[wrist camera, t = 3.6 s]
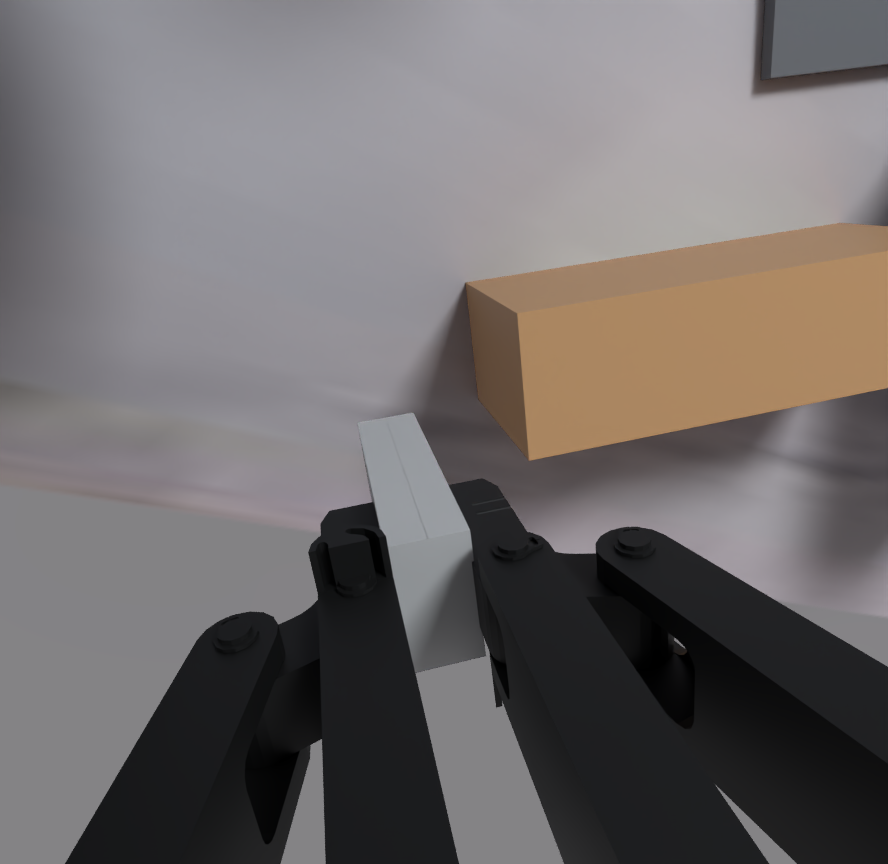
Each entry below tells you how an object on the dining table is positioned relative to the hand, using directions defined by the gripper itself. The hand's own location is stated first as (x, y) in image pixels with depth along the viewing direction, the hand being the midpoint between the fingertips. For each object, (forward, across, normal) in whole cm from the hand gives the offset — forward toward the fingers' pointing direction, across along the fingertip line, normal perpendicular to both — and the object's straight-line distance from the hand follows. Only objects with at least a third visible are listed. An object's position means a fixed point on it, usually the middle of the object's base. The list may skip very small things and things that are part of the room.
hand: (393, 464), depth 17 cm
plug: (+10, +15, +1) cm, 18 cm away
